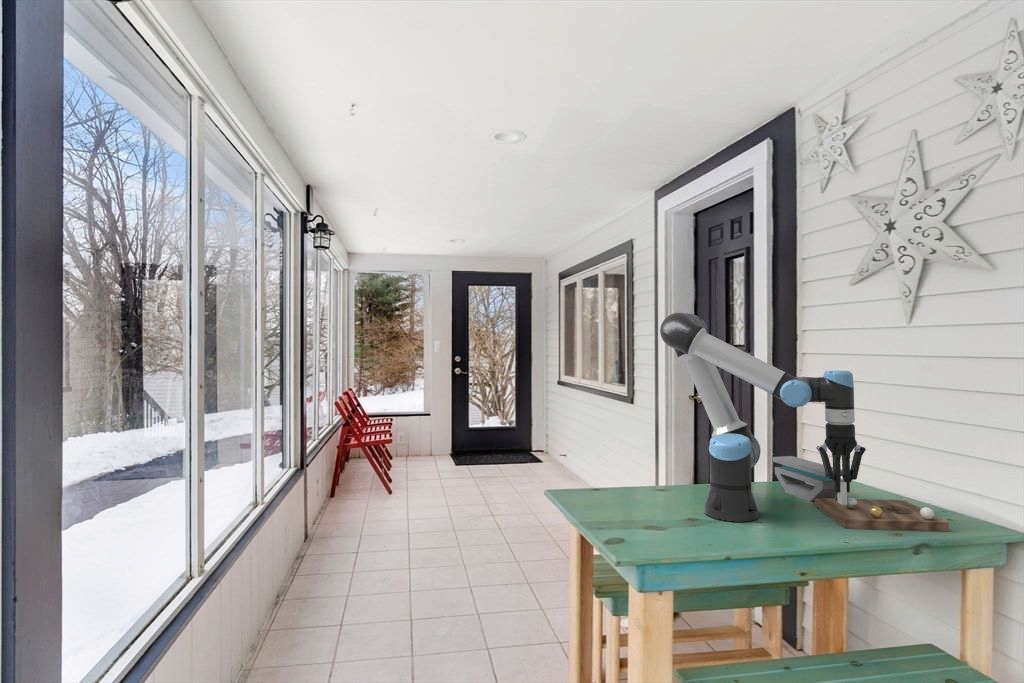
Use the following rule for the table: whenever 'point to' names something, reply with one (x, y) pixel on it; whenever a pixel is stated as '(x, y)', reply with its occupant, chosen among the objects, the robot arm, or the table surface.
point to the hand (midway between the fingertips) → (842, 503)
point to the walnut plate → (893, 516)
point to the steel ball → (851, 503)
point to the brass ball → (875, 511)
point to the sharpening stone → (804, 478)
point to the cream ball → (927, 513)
